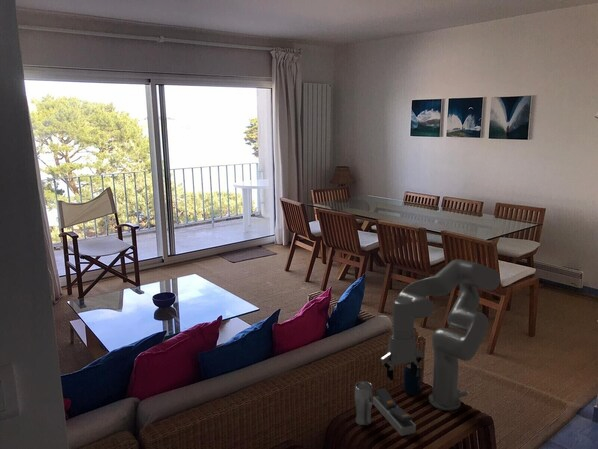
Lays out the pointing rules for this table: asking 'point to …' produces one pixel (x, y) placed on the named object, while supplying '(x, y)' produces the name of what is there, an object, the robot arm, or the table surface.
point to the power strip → (394, 418)
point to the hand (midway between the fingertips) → (401, 376)
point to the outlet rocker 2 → (401, 414)
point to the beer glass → (363, 402)
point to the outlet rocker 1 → (386, 398)
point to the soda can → (412, 380)
